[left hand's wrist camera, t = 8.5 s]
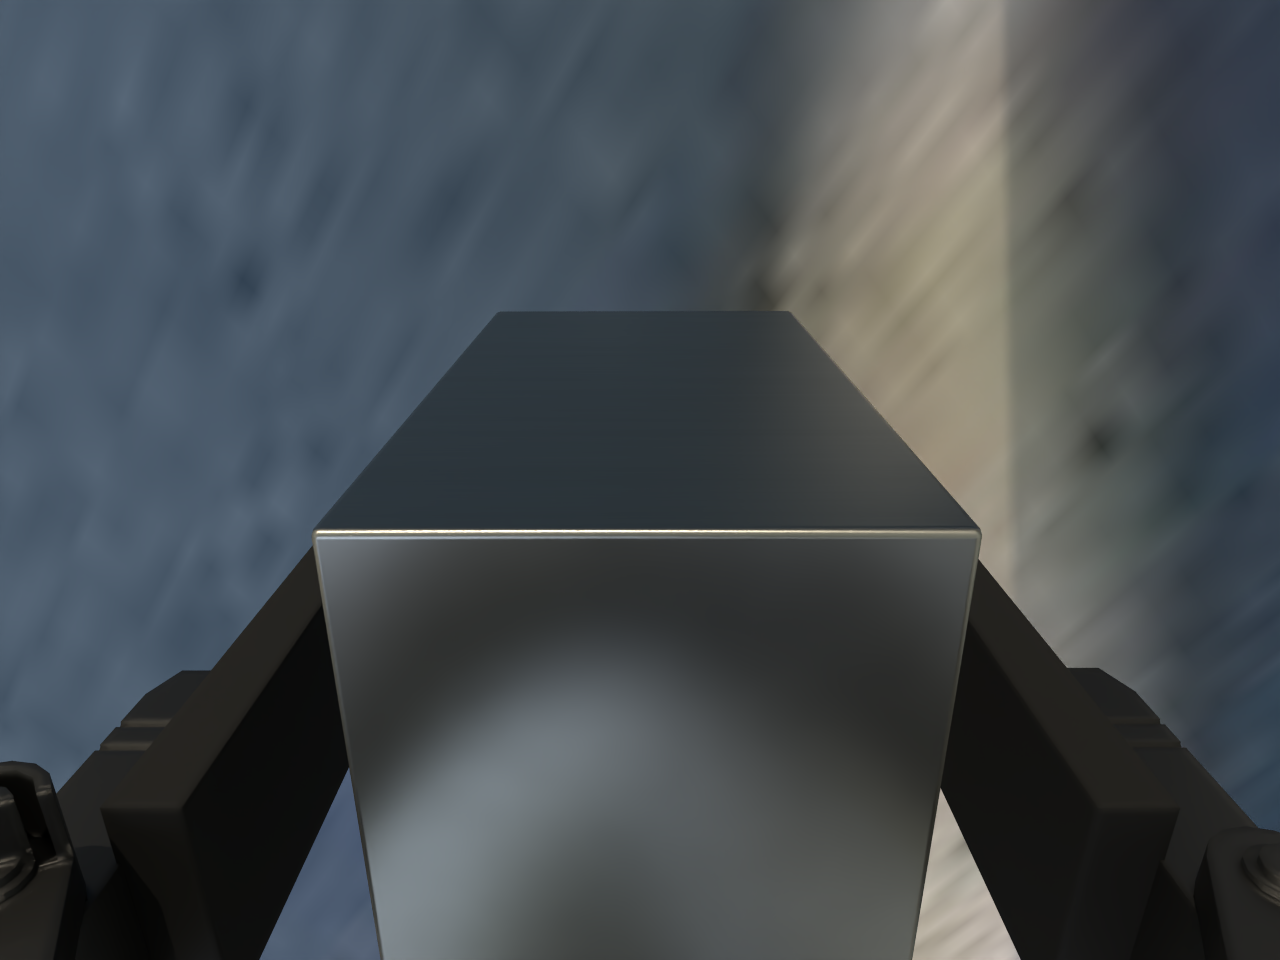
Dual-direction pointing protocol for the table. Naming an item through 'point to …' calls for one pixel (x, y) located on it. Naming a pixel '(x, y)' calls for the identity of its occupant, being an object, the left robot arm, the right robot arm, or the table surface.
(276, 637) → the left robot arm
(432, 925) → the bar
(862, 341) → the table surface
